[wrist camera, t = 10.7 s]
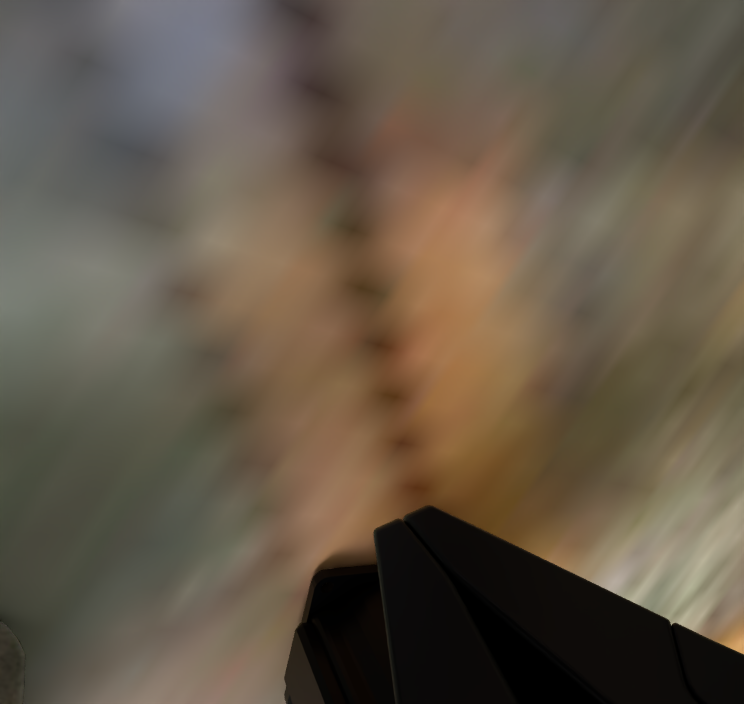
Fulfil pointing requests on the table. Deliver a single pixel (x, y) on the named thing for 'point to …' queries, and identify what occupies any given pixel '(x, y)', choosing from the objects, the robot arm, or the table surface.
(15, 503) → the table surface
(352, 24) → the table surface
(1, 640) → the vintage camera
